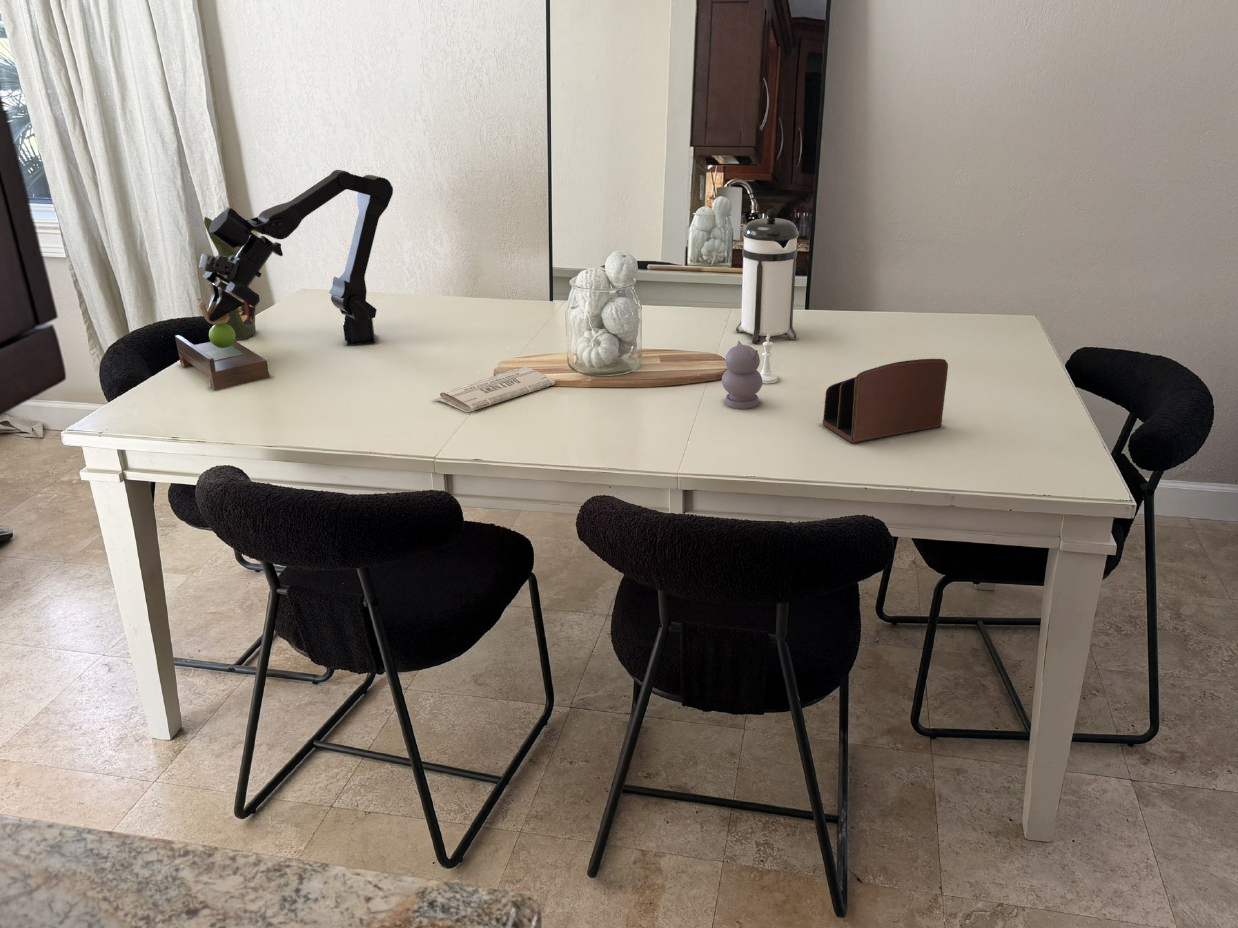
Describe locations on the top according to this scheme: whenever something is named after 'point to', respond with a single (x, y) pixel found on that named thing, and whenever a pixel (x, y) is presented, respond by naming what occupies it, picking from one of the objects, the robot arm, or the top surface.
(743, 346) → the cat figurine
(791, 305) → the coffee press
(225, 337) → the snail figurine
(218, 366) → the wooden display stand
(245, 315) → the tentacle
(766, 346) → the chess piece
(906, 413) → the letter holder
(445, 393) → the newspaper
